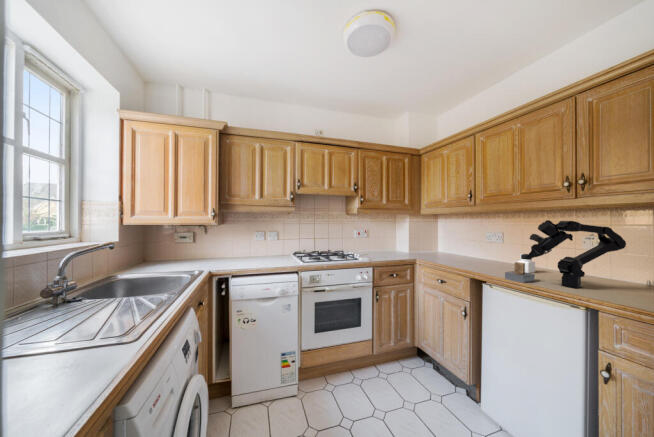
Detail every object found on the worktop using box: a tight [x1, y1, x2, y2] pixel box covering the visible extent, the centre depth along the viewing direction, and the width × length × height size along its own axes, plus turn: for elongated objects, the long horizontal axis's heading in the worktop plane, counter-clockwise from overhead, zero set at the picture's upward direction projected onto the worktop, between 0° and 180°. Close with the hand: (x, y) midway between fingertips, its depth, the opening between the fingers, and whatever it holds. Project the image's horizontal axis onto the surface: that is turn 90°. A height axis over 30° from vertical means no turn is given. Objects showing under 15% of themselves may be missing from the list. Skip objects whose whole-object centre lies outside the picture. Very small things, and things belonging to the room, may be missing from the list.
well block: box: [504, 270, 535, 284], centre depth 146 cm, size 10×10×4 cm
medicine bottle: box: [516, 253, 536, 274], centre depth 169 cm, size 7×7×12 cm
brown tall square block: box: [513, 261, 525, 275], centre depth 146 cm, size 4×4×10 cm
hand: (528, 257), depth 143 cm, fingers open, 9 cm apart
